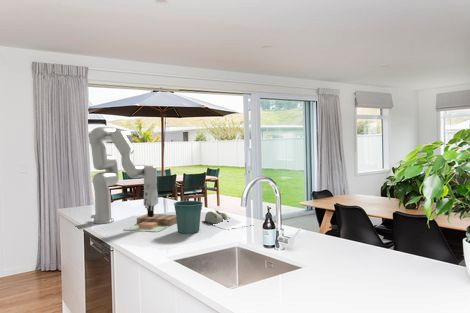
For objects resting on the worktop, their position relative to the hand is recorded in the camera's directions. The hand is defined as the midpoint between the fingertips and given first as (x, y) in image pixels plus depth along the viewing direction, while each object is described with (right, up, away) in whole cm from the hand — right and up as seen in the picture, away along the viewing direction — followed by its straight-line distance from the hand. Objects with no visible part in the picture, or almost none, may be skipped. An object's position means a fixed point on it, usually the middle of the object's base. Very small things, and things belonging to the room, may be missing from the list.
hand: (150, 216), depth 229 cm
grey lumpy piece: (+45, -6, +7) cm, 46 cm away
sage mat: (-1, -6, -6) cm, 8 cm away
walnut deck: (+3, -5, +9) cm, 11 cm away
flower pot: (+25, -6, -14) cm, 29 cm away
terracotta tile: (0, -3, -5) cm, 6 cm away
